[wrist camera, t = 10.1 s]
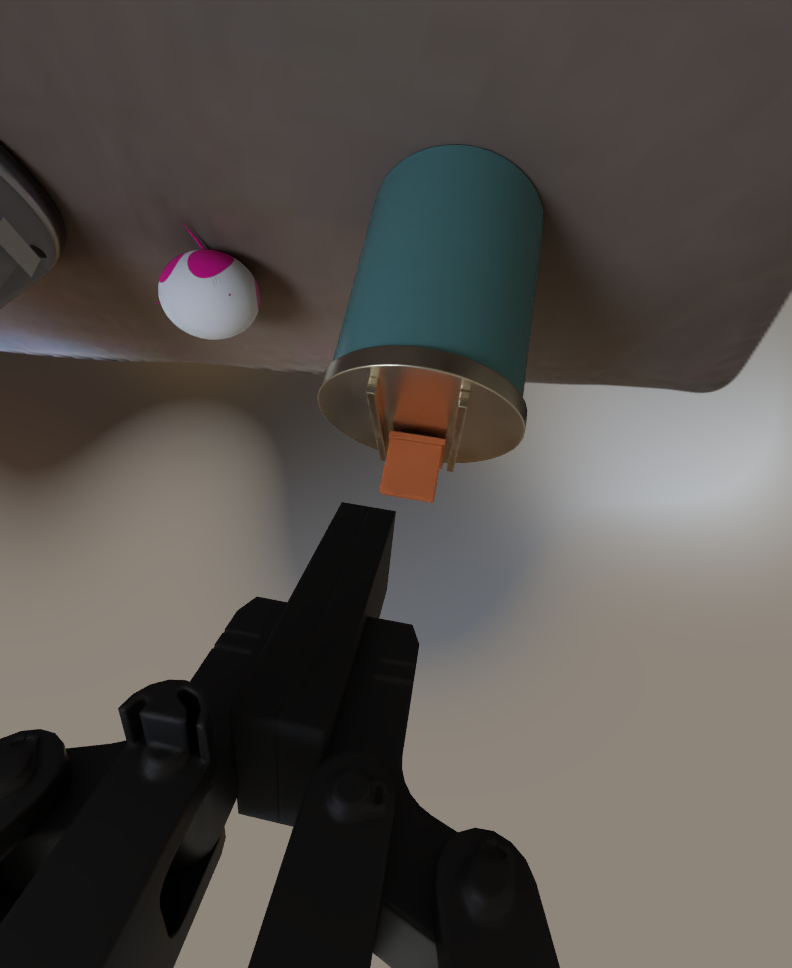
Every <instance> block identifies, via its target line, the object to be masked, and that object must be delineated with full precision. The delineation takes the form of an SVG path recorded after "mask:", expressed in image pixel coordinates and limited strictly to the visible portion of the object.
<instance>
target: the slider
mask: <svg viewBox="0 0 792 968" xmlns="http://www.w3.org/2000/svg"><path fill="white" fill-rule="evenodd" d="M445 443H446V439H441V438H435V437H429V436H422V435H416V434H409V433H403V432H396V431H390V433H389V447H388V452H387V457H386V461H385V466H384V471H383V476H382V481H381V485H380V493H381V494H384V495H390V496H396V497H401V498H408V499H414V500H420V501H425V502H431V503H432V502H434V496H435V490H436V484H437V479H438V473H439V469H442V464H443V457H444V450H445Z"/></svg>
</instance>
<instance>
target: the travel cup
mask: <svg viewBox="0 0 792 968" xmlns="http://www.w3.org/2000/svg"><path fill="white" fill-rule="evenodd" d="M543 223H544V217H543V208H542V205H541V201H540V198H539V196H538V193H537V191H536V189H535V187H534V186H533V184H532V183H531V181H530V180H529V178H528V177H527V176H526V175H525V174H524V173H523V172H522V171H521V170H520V169H519V168H518V167H517V166H515V165H514V164H513V163H512V162H510V161H509V160H507V159H505V158H504V157H502V156H500V155H498V154H496V153H494V152H491V151H489V150H486V149H482V148H479V147H474V146H468V145H452V144H451V145H441V146H435V147H431V148H427V149H424V150H422V151H419V152H417V153H414V154H412V155H411V156H409V157H407V158H405V159H404V160H403V161H401V162H400V163H399V164H397V165H396V166H395V167H394V168H393V169H392V170H391V171H390V172H389V173H388V175H387V176H386V177H385V179H384V180H383V182H382V184H381V186H380V188H379V190H378V192H377V196H376V199H375V203H374V206H373V210H372V214H371V218H370V222H369V226H368V229H367V233H366V237H365V241H364V245H363V248H362V252H361V256H360V260H359V264H358V267H357V271H356V275H355V279H354V283H353V286H352V290H351V294H350V298H349V302H348V306H347V309H346V313H345V317H344V321H343V325H342V328H341V332H340V336H339V340H338V344H337V347H336V351H335V355H334V359H333V362H332V363H331V364H330V365H329V366H328V367H327V369H326V370H325V372H324V374H323V377H322V381H321V384H320V388H319V392H318V404H319V407H320V409H321V411H322V413H323V415H324V416H325V417H326V418H327V420H328V421H329V422H330V423H331V424H332V425H334V426H335V427H336V428H337V429H338V430H340V431H341V432H343V433H344V434H346V435H347V436H349V437H351V438H353V439H355V440H356V441H359V442H361V443H363V444H365V445H367V446H370V447H372V448H375V449H377V450H378V451H379V456H380V460H383V461H386V457H387V452H388V447H389V433H390V431H396V432H403V433H409V434H416V435H422V436H429V437H435V438H441V439H446V443H445V450H444V457H443V463H448V465H447V471H451V472H453V470H454V466H455V463H467V462H477V461H483V460H488V459H492V458H495V457H499V456H501V455H503V454H506V453H508V452H509V451H511V450H513V449H514V448H515V447H516V446H518V445H519V443H520V442H521V441H522V439H523V437H524V434H525V428H526V420H527V407H526V403H525V401H524V399H523V392H524V384H525V376H526V367H527V359H528V351H529V342H530V334H531V326H532V317H533V309H534V301H535V292H536V284H537V276H538V267H539V259H540V251H541V242H542V234H543Z"/></svg>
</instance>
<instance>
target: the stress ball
mask: <svg viewBox="0 0 792 968" xmlns="http://www.w3.org/2000/svg"><path fill="white" fill-rule="evenodd" d="M182 223H183V222H182ZM183 224H184V223H183ZM185 227H186V226H185ZM186 228H187V227H186ZM187 230H188V231H189V232H190V230H189V229H188V228H187ZM190 234H191V235H192V236H193V238H194V239H195V240H196V242H197V243H198V245H199V246H200V247H201V250H193V251H189V252H186V253H183V254H181V255H179V256H177V257H176V258H174V259H173V260H172V261H170V262H169V263H168V265H167V266H166V267H165V269H164V270H163V272H162V274H161V276H160V279H159V284H158V294H159V300H160V302H158V303H161V306H162V308H163V310H164V312H165V313H166V315H167V316H168V318H169V319H170V320H171V321H172V322H173V323H174V324H175V325H176V326H177V327H179V328H180V329H181V330H183V331H185V332H186V333H188V334H191V335H193V336H196V337H199V338H203V339H210V340H220V339H226V338H230V337H233V336H236V335H238V334H240V333H242V332H243V331H244V330H246V329H247V328H248V327H249V326H250V325H251V324H252V323H253V321H254V320H255V318H256V316H257V314H258V311H259V307H260V292H259V288H258V285H257V282H256V280H255V278H254V277H253V275H252V274H251V272H250V271H249V270H248V269H247V268H246V267H245V266H244V265H243V264H242V263H241V262H240V261H238V260H237V259H235V258H233V257H232V256H230V255H227V254H225V253H222V252H219V251H214V250H206V249H205V248H204V247H203V245H202V244H201V243H200V242H199V241H198V240H197V238H196V237H195V236H194V235H193V234H192V233H191V232H190ZM155 304H157V303H155Z"/></svg>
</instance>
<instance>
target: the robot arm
mask: <svg viewBox="0 0 792 968" xmlns="http://www.w3.org/2000/svg"><path fill="white" fill-rule="evenodd" d="M65 242H66V233H65V228H64V225H63V222H62V220H61V217H60V215H59V213H58V211H57V209H56V208H55V206H54V205H53V203H52V201H51V200H50V198H49V197H48V196H47V194H46V193H45V191H44V190H43V189H42V188H41V186H40V185H39V184H38V183H37V182H36V180H35V179H34V178H33V177H32V176H31V175H30V174H29V172H28V171H27V170H26V169H25V168H24V167H23V166H22V165H21V164H20V163H19V162H18V161H17V160H16V159H15V158H14V157H13V156H12V155H11V154H10V153H9V152H8V151H7V150H6V149H5V148H3V147H2V146H1V145H0V309H1V308H3V307H4V306H5V305H7V304H8V303H9V302H10V301H12V300H13V299H14V298H16V297H17V296H18V295H19V294H21V293H22V292H23V291H25V290H26V289H27V288H29V287H30V286H31V285H32V284H34V283H35V282H36V281H38V280H39V279H40V278H41V277H43V276H44V275H45V274H47V273H48V272H49V271H50V270H51V269H52V268H53V267H54V266H55V264H56V262H57V260H58V258H59V256H60V254H61V252H62V250H63V248H64V246H65ZM395 514H396V512H395V511H391V510H384V509H379V508H373V507H367V506H361V505H355V504H349V503H343V502H342V503H341V505H340V507H339V508H338V510H337V512H336V514H335V516H334V518H333V520H332V521H331V523H330V525H329V527H328V529H327V531H326V533H325V534H324V536H323V538H322V540H321V542H320V544H319V545H318V547H317V549H316V551H315V553H314V555H313V556H312V558H311V560H310V562H309V564H308V566H307V568H306V569H305V571H304V573H303V575H302V577H301V579H300V580H299V582H298V584H297V586H296V588H295V590H294V591H293V594H292V595H291V597H290V599H289V601H288V602H282V601H277V600H272V599H266V598H261V597H256V598H254V599H253V600H251V601H250V602H249V603H247V604H246V605H245V606H243V607H242V608H240V609H239V610H238V611H237V612H236V614H235V615H234V616H233V618H232V620H231V621H230V622H229V624H228V625H227V627H226V628H225V632H224V633H222V635H221V636H220V637H219V639H218V641H217V642H216V643H215V647H214V649H211V651H210V652H209V654H208V656H207V657H206V659H205V660H204V661H203V663H202V664H201V666H200V668H199V669H198V671H197V672H196V673H195V675H194V677H193V678H192V679H191V681H190V682H189V681H186V680H166V681H162V682H158V683H155V684H151V685H149V686H147V687H145V688H144V689H141V690H140V691H138V692H136V693H134V694H133V695H132V696H131V697H130V698H128V699H127V701H125V702H124V703H123V704H122V705H121V706H120V707H119V708H118V710H119V713H120V717H121V721H122V725H123V729H124V732H125V736H126V741H122V742H117V743H112V744H104V745H95V746H87V747H77V748H67V749H65V746H64V743H63V742H62V741H61V740H60V739H59V737H58V736H57V735H56V734H55V733H52V732H49V731H45V730H41V729H37V730H27V731H20V732H18V733H15V734H12V735H9V736H7V737H4V738H1V739H0V968H173V967H174V965H175V962H176V960H177V958H178V955H179V953H180V951H181V948H182V946H183V944H184V941H185V939H186V936H187V934H188V932H189V929H190V927H191V925H192V922H193V920H194V917H195V915H196V913H197V910H198V908H199V906H200V903H201V901H202V899H203V896H204V894H205V891H206V889H207V887H208V884H209V882H210V880H211V877H212V875H213V873H214V870H215V868H216V866H217V863H218V861H219V859H220V856H221V854H222V849H223V846H224V842H225V838H226V836H225V828H224V826H225V823H226V821H227V819H228V817H229V814H230V812H231V810H232V808H233V805H234V803H235V801H236V798H237V802H238V813H239V814H243V815H247V816H251V817H256V818H259V819H264V820H268V821H272V822H276V823H280V824H285V825H289V826H293V830H292V833H291V837H290V839H289V843H288V846H287V849H286V852H285V855H284V858H283V861H282V864H281V867H280V870H279V873H278V877H277V880H276V883H275V886H274V889H273V892H272V895H271V898H270V901H269V904H268V907H267V911H266V914H265V917H264V920H263V923H262V926H261V929H260V932H259V935H258V938H257V941H256V945H255V948H254V951H253V954H252V957H251V960H250V963H249V966H248V968H370V966H371V959H372V953H374V954H375V955H376V956H378V957H379V958H380V959H381V960H383V961H384V962H385V963H386V964H388V965H389V966H390V967H391V968H560V966H559V963H558V959H557V956H556V952H555V949H554V945H553V941H552V938H551V934H550V931H549V927H548V924H547V920H546V916H545V913H544V909H543V906H542V902H541V899H540V895H539V891H538V888H537V884H536V882H535V879H534V877H533V875H532V872H531V870H530V868H529V866H528V863H527V861H526V859H525V858H524V857H523V856H522V855H521V853H520V852H519V851H518V850H517V849H516V847H515V846H514V845H513V844H512V843H511V842H510V841H508V840H507V839H505V838H504V837H502V836H500V835H499V834H497V833H496V832H494V831H490V830H484V829H479V828H472V829H469V830H465V831H461V832H456V831H455V830H453V829H452V828H450V827H448V826H447V825H445V824H444V823H442V822H441V821H439V820H438V819H436V818H435V817H433V816H431V815H430V814H429V813H428V812H426V811H425V810H424V809H423V808H422V807H420V806H419V804H418V803H417V802H416V800H415V799H414V798H413V797H412V795H411V794H410V792H409V790H408V787H407V785H406V783H405V781H404V776H403V771H402V755H403V747H404V742H405V735H406V728H407V722H408V715H409V708H410V702H411V695H412V689H413V681H414V675H415V669H416V663H417V656H418V649H419V642H418V640H417V637H416V634H415V631H414V628H413V625H411V624H405V623H400V622H395V621H390V620H384V619H379V617H380V613H381V609H382V605H383V601H384V598H385V594H386V590H387V583H388V574H389V565H390V557H391V548H392V540H393V531H394V522H395Z"/></svg>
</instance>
